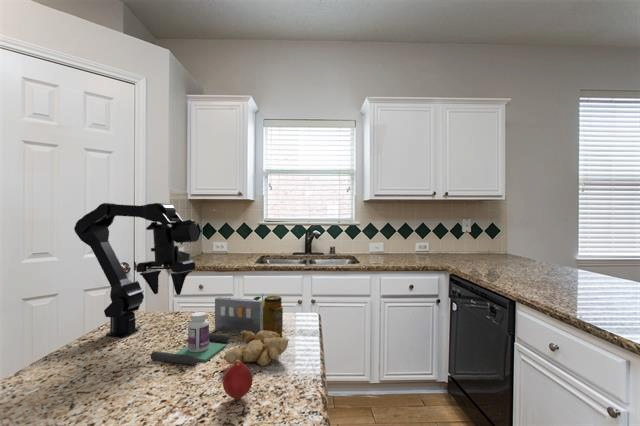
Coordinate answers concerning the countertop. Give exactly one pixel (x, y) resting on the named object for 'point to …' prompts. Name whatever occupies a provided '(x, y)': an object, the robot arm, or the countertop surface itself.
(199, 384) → the countertop surface
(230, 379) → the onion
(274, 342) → the ginger root
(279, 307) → the condiment
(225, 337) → the dark grey rod
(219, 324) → the gray printed box
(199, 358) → the pad
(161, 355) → the dark grey rounded rod
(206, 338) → the pill bottle
